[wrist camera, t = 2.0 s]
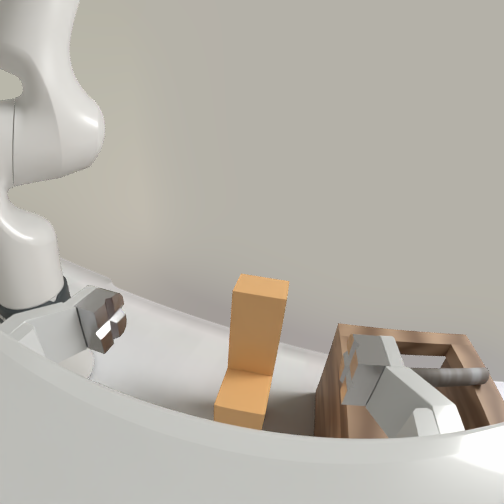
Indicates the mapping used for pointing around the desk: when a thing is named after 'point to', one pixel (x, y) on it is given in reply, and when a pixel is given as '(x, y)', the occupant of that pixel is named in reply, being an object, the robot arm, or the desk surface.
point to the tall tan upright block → (251, 350)
